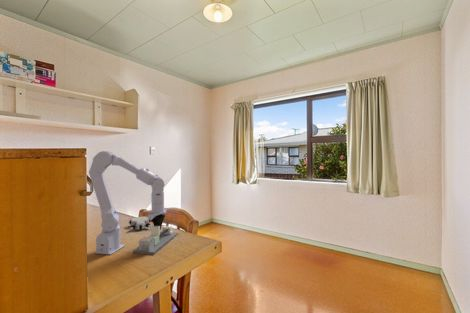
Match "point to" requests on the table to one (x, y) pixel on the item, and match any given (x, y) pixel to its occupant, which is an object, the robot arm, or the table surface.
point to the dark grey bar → (163, 232)
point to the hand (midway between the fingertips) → (157, 230)
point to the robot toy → (139, 223)
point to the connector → (146, 244)
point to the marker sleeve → (155, 234)
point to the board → (162, 242)
